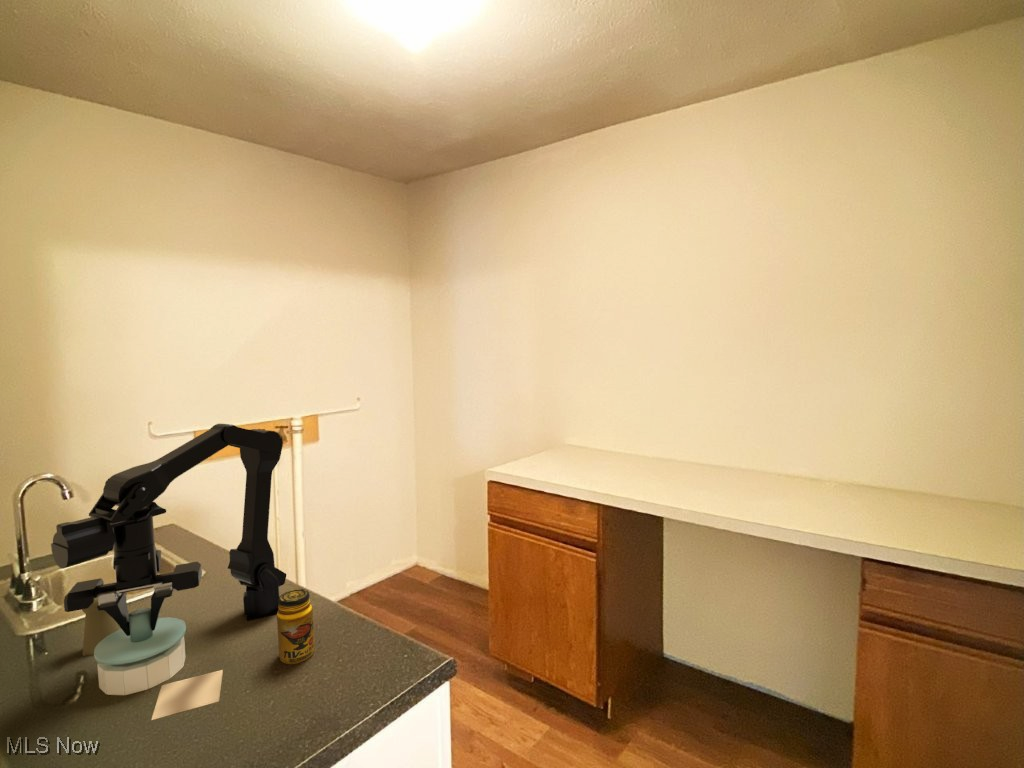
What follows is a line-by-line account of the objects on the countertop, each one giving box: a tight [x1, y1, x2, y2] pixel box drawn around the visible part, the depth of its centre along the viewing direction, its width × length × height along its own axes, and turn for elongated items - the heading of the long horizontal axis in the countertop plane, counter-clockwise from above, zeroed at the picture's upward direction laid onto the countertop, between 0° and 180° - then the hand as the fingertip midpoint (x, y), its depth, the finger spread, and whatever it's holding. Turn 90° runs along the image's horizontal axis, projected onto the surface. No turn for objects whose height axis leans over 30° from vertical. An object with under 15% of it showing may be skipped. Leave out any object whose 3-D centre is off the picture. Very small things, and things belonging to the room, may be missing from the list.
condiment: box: [276, 588, 316, 665], centre depth 94 cm, size 7×8×12 cm
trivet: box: [150, 669, 224, 721], centre depth 84 cm, size 9×9×1 cm
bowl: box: [96, 635, 186, 696], centre depth 90 cm, size 12×12×4 cm
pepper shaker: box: [81, 598, 120, 657], centre depth 98 cm, size 6×6×11 cm
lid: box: [93, 607, 187, 665], centre depth 89 cm, size 13×13×5 cm
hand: (141, 632), depth 90 cm, fingers closed on lid, 3 cm apart
